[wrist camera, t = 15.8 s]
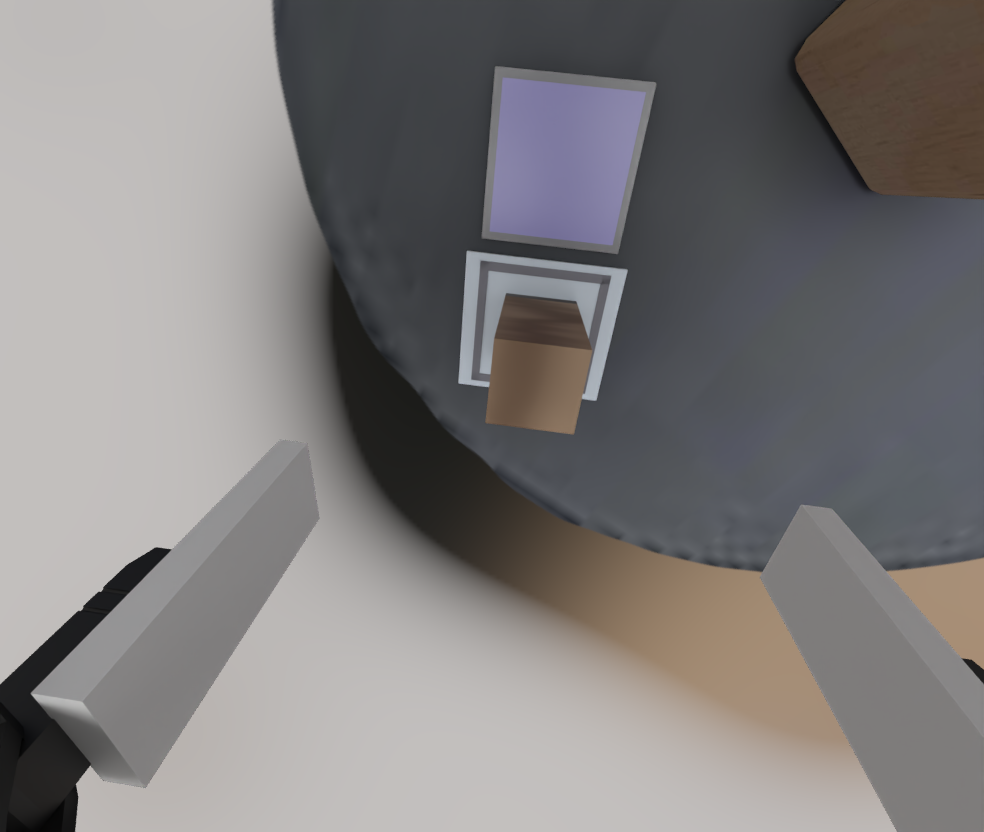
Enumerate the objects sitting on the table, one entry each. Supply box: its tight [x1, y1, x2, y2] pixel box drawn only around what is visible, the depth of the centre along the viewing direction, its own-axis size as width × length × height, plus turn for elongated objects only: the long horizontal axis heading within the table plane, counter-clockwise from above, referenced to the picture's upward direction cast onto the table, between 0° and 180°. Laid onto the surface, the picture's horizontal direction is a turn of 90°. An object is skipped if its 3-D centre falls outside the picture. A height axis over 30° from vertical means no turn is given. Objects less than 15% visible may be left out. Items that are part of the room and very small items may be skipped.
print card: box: [458, 250, 628, 401], centre depth 32 cm, size 11×10×1 cm
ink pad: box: [482, 66, 657, 254], centre depth 26 cm, size 9×9×1 cm
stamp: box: [485, 293, 592, 434], centre depth 27 cm, size 5×5×10 cm
